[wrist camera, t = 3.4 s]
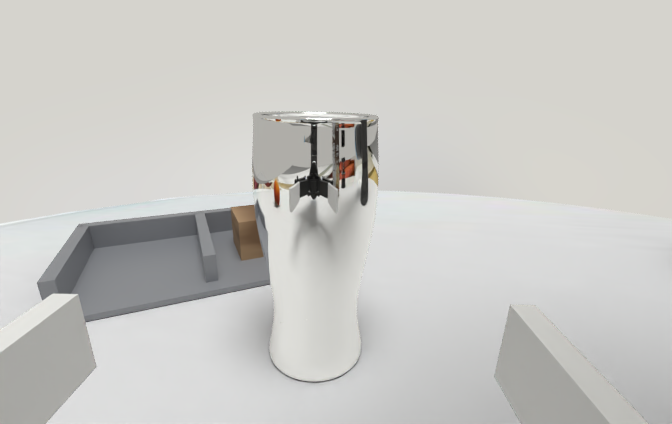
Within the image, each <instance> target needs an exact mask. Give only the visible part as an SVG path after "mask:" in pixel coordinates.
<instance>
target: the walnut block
mask: <svg viewBox="0 0 672 424" xmlns="http://www.w3.org/2000/svg"><path fill="white" fill-rule="evenodd" d="M231 218H232V230H233V242H234V244H235V246H236V249H237V251H238V254H239V256H240V258H241V261H243V260H249V259H255V258H261V257H264V256H263V252H262V248H261V243H260V239H259V234H258V229H257V223H256V218H255V209H254V205H248V206H238V207H231Z"/></svg>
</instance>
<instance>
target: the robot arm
mask: <svg viewBox="0 0 672 424" xmlns="http://www.w3.org/2000/svg"><path fill="white" fill-rule="evenodd" d="M95 368H96V363H95V359H94V355H93V351H92V347H91V343H90V339H89V335H88V331H87V327H86V323H85V319H84V315H83V311H82V307H81V303H80V299H79V295H78V294H51V295H50V296H48V297H47V298H46V299H44V300H43V301H41V302H40V303H38V304H37V305H35V306H34V307H32V308H31V309H29V310H28V311H26V312H25V313H24V314H22V315H21V316H19V317H18V318H16V319H15V320H13V321H12V322H10V323H9V324H7V325H6V326H5V327H3V328H2V329H0V424H46V423H47V421H48V420H49V419H50V418H51V417H52V416H53V415H54V414H55V413H56V411H57V410H58V409H59V408H60V407H61V406H62V405H63V404H64V403H65V401H66V400H67V399H68V398H69V397H70V396H71V395H72V394H73V393H74V391H75V390H76V389H77V388H78V387H79V386H80V385H81V384H82V383H83V381H84V380H85V379H86V378H87V377H88V376H89V375H90V374H91V373H92V371H93V370H94V369H95ZM494 377H495V378H496V380H497V382H498V384H499V386H500V387H501V389H502V391H503V393H504V394H505V396H506V398H507V400H508V401H509V403H510V405H511V407H512V409H513V410H514V412H515V414H516V416H517V417H518V419H519V421H520V423H521V424H649V423H648V422H647V421H646V420H645V419H644V418H643V417H642V416H641V415H640V414H639V413H638V412H637V411H636V410H635V409H634V408H633V407H632V406H631V405H630V404H629V403H628V401H627V400H626V399H625V398H624V397H623V396H622V395H621V394H620V393H619V392H618V391H617V390H616V389H615V388H614V387H613V386H612V385H611V384H610V383H609V382H608V381H607V380H606V379H605V378H604V376H603V375H602V374H601V373H600V372H599V371H598V370H597V369H596V368H595V367H594V366H593V365H592V364H591V363H590V362H589V361H588V360H587V359H586V358H585V357H584V356H583V355H582V354H581V352H580V351H579V350H578V349H577V348H576V347H575V346H574V345H573V344H572V343H571V342H570V341H569V340H568V339H567V338H566V337H565V336H564V335H563V334H562V333H561V332H560V331H559V330H558V328H557V327H556V326H555V325H554V324H553V323H552V322H551V321H550V320H549V319H548V318H547V317H546V316H545V315H544V314H543V313H542V312H541V311H540V310H539V309H538V308H537V307H536V306H535V305H510V308H509V312H508V317H507V321H506V326H505V330H504V335H503V339H502V344H501V348H500V353H499V357H498V362H497V366H496V371H495V375H494Z"/></svg>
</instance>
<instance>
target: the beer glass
mask: <svg viewBox="0 0 672 424" xmlns="http://www.w3.org/2000/svg"><path fill="white" fill-rule="evenodd" d="M252 158H253V159H252V174H253V175H252V177H253V199H254V209H255V218H256V223H257V229H258V234H259V239H260V243H261V248H262V252H263V256H264V260H265V264H266V268H267V272H268V276H269V280H270V284H271V289H272V293H273V302H274V318H273V325H272V331H271V337H270V344H269V351H270V356H271V359H272V361H273V363H274V365H275V366H276V367H277V368H278V369H279V370H280V371H281V372H282V373H284V374H286V375H287V376H289V377H292V378H294V379H298V380H302V381H309V382H319V381H326V380H330V379H333V378H336V377H339V376H341V375H343V374H344V373H346V372H347V371H349V370H350V369H351V368H352V367H353V366H354V365H355V364H356V362H357V360H358V358H359V356H360V353H361V337H360V331H359V325H358V318H357V300H358V292H359V287H360V283H361V278H362V274H363V270H364V266H365V263H366V259H367V254H368V250H369V246H370V242H371V238H372V233H373V227H374V222H375V217H376V207H377V196H378V172H379V171H378V116H376V115H370V114H358V113H357V114H356V113H338V112H337V113H336V112H260V113H254V114H253V157H252Z"/></svg>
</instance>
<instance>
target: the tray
mask: <svg viewBox="0 0 672 424" xmlns="http://www.w3.org/2000/svg"><path fill="white" fill-rule="evenodd" d="M268 284H270V280H269V276H268V272H267V268H266V264H265V260H264V257H261V258H255V259H249V260H243V261H241V258H240V256H239V254H238V251H237V249H236V246H235V244H234V242H233V230H232V218H231V208H225V209H216V210H206V211H197V212H188V213H178V214H169V215H160V216H150V217H141V218H132V219H122V220H113V221H104V222H94V223H85V224H79V225H78V226H77V228H76V229H75V230H74V232H73V233H72V235H71V236H70V237H69V239H68V240H67V242H66V243H65V244H64V246H63V247H62V249H61V250H60V251H59V253H58V254H57V255H56V257H55V258H54V260H53V261H52V262H51V264H50V265H49V267H48V268H47V269H46V271H45V272H44V274H43V275H42V276H41V278H40V279H39V281H38V282H37V285H38V288H39V291H40V295H41V298H42V301H43V300H44V299H46V298H47V297H48V296H50V295H51V294H78V295H79V299H80V303H81V307H82V311H83V315H84V319H85V322H87V321H92V320H97V319H102V318H107V317H112V316H116V315H121V314H126V313H131V312H136V311H141V310H146V309H151V308H155V307H160V306H165V305H170V304H175V303H180V302H185V301H190V300H195V299H199V298H204V297H209V296H214V295H219V294H224V293H229V292H234V291H238V290H243V289H248V288H253V287H258V286H263V285H268Z"/></svg>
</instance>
